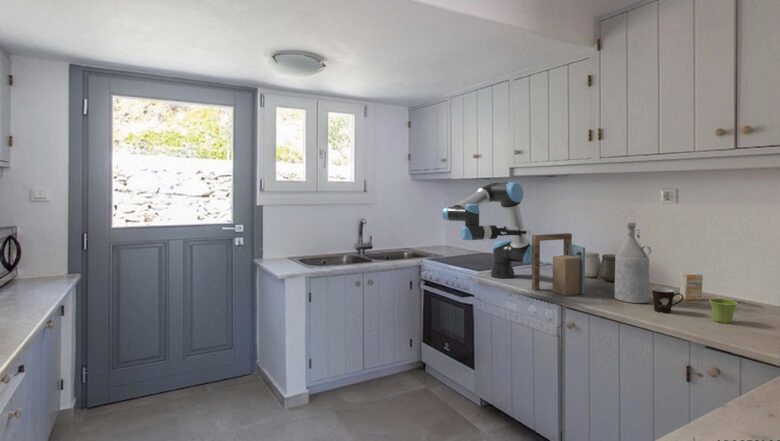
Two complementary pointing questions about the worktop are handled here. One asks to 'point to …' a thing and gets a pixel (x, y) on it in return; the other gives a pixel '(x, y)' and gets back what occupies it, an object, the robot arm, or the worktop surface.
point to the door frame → (536, 253)
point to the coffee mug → (664, 299)
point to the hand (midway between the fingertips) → (523, 230)
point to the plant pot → (722, 310)
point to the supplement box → (691, 286)
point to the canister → (632, 270)
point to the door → (580, 252)
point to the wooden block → (566, 275)
